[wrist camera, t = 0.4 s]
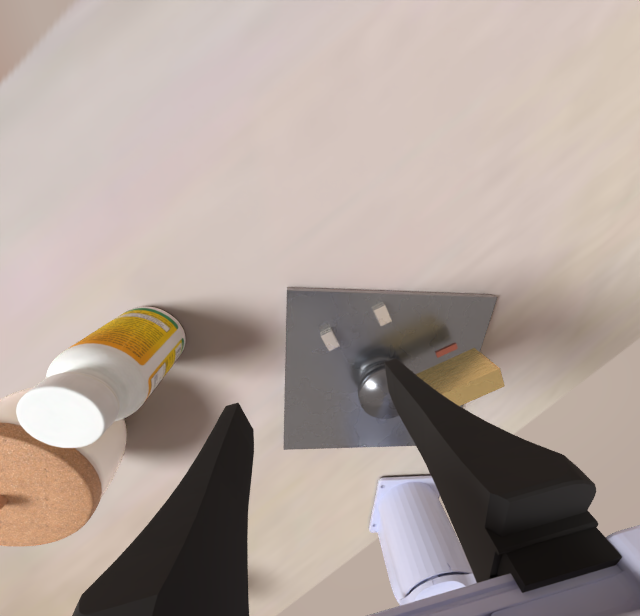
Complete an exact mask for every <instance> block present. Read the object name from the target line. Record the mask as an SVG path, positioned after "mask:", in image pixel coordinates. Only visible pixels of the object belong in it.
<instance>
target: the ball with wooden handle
mask: <svg viewBox="0 0 640 616" xmlns="http://www.w3.org/2000/svg"><path fill="white" fill-rule="evenodd" d="M416 375H417V376H418V377H419V378H421V379H422V380H423V381H424V382H426V383H427V384H428V385H430V386H431V387H432V388H433V389H435V390H436V391H438V392H439V393H440V394H442V395H443V396H445V397H446V398H448V399H449V400H451V401H452V402H454V403H455V404H457V405H458V406H461V405H463V404H465V403H467V402H470V401H472V400H474V399H477V398H479V397H481V396H483V395H486V394H488V393H490V392H493V391H495V390H497V389H499V388H502V387H504V382H503V378H502V374H501V371H500V368H499V367H497V366H496V365H495V364H494V363H493V362H491V361H490V360H489V359H488V358H486V357H485V356H484V355H483V354H481V353H480V352H479V351H478V350H476V349H475V348H472V349H470V350H468V351H466V352H464V353H461V354H459V355H457V356H455V357H453V358H450V359H448V360H446V361H444V362H442V363H439V364H437V365H435V366H433V367H431V368H428V369H426V370H424V371H422V372H420V373H417V374H416ZM358 398H359V401H360V404H361V406H362V408H363V410H364V411H365V412H366V413H367V414H369V415H370V416H372V417H375V418H380V419H389V418H394V417H397V416H399V414H398V412H397V410H396V408H395V406H394V403H393V401H392V399H391V396H390V394H389V391H388V384H387V377H386V371H385V365H383V366H379V367H377V368H375V369H373V370H371V371H370V372H368V373H367V374H366V375H365V376H364V377H363V379H362V380H361V382H360V384H359V387H358Z"/></svg>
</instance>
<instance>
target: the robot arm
mask: <svg viewBox="0 0 640 616" xmlns="http://www.w3.org/2000/svg"><path fill="white" fill-rule="evenodd" d="M384 364H385V371H386V377H387V384H388V391H389V394H390V396H391V399H392V401H393V403H394V406H395V408H396V410H397V412H398V414H399V416H400V418H401V420H402V421H403V423H404V425H405V427H406V429H407V430H408V432H409V434H410V436H411V437H412V439H413V441H414V443H415V445H416V446H417V448H418V450H419V452H420V453H421V455H422V457H423V459H424V461H425V463H426V465H427V467H428V470H429V472H430V474H431V476H409V477H386V478H380V479H379V481H378V486H377V491H376V495H375V500H374V505H373V510H372V515H371V520H370V525H369V530H370V532H372V533H374V532H378V536H379V540H380V544H381V548H382V552H383V556H384V560H385V564H386V568H387V572H388V575H389V580H390V583H391V587H392V590H393V593H394V596H395V598H396V600H397V601H398V603H399V604H400V606H398V607H395V608H391V609H388V610H384V611H381V612H377V613H374V614H370V615H367V616H640V525H638V526H634V527H631V528H627V529H624V530H620V531H618V532H615V533H612V534H611V535H609V536H607V537H606V538H605V537H604V536H603V535H602V533H601V532H600V531H599V530H598V529H597V528H596V527H597V526H598V523H597V521H596V520H595V518H594V517H593V516H592V515H591V514H590V513H589V512H588V511H587V510H588V507H589V506H590V504H591V502H592V500H593V498H594V496H595V493H596V487H595V484H594V483H593V482H592V481H591V480H590V479H589V478H588V477H587V476H586V475H585V474H584V473H583V472H582V471H581V470H580V469H579V468H578V467H577V466H576V465H574V464H573V463H572V462H571V461H570V460H569V459H567V458H566V457H565V456H564V455H562V454H560V453H557V452H555V451H552V450H549V449H547V448H544V447H541V446H539V445H536V444H534V443H531V442H529V441H526V440H524V439H522V438H519V437H517V436H515V435H513V434H510V433H508V432H506V431H504V430H502V429H500V428H498V427H496V426H494V425H492V424H490V423H488V422H486V421H484V420H482V419H481V418H479V417H477V416H475V415H473V414H472V413H470V412H468V411H467V410H465V409H463V408H462V407H460V406H458V405H457V404H455V403H454V402H452V401H451V400H449V399H448V398H446V397H445V396H443V395H442V394H440V393H439V392H438V391H436V390H435V389H433V388H432V387H431V386H430V385H428V384H427V383H426V382H424V381H423V380H422V379H421V378H419V377H418V376H417V375H416V374H414V373H413V372H412V371H411V370H410V369H409V368H407V367H406V366H405V365H404V364H403V363H402V362H401V361H400V360H399V359H397V358H396V359H393V360H389V361H385V362H384ZM253 455H254V436H253V428H252V427H251V425H250V423H249V421H248V419H247V418H246V416H245V414H244V412H243V410H242V409H241V407H240V405H239V403H236V404H232V405H228V406H226V407H225V409H224V410H223V412H222V414H221V416H220V417H219V419H218V421H217V423H216V425H215V427H214V428H213V430H212V432H211V434H210V436H209V437H208V439H207V441H206V442H205V444H204V446H203V448H202V449H201V451H200V453H199V454H198V456H197V458H196V459H195V461H194V462H193V464H192V465H191V467H190V469H189V470H188V472H187V473H186V475H185V476H184V478H183V479H182V481H181V482H180V484H179V485H178V486H177V488H176V489H175V491H174V492H173V493H172V495H171V496H170V497H169V499H168V500H167V501H166V503H165V504H164V505H163V506H162V508H161V509H160V510H159V511H158V513H157V514H156V515H155V516H154V517H153V519H152V520H151V521H150V522H149V524H148V525H147V526H146V527H145V528H144V530H143V531H142V532H141V533H140V534H139V535H138V537H137V538H136V539H135V540H134V541H133V542H132V543H131V544H130V546H129V547H128V548H127V549H126V550H125V551H124V552H123V553H122V554H121V555H120V556H119V557H118V559H117V560H116V561H115V562H114V563H113V564H112V565H111V566H110V567H109V568H108V569H107V570H106V571H105V572H104V573H103V574H102V575H101V576H100V577H99V578H98V579H97V580H96V581H95V582H94V583H93V584H92V585H91V586H90V587H89V588H88V589H87V590H86V591H85V592H84V593H83V594H82V596H81V598H80V600H79V602H78V604H77V606H76V608H75V611H74V613H73V615H72V616H249V604H248V569H247V529H248V504H249V494H250V485H251V475H252V465H253ZM439 496H441V499H442V501H443V503H444V505H445V508H446V510H447V512H448V515H449V517H450V519H451V522H452V524H453V526H454V529H455V531H456V533H457V536H458V538H459V540H458V538H457V536H456V534H455V532H454V530H453V528H452V526H451V524H450V521H449V519H448V517H447V515H446V513H445V511H444V509H443V507H442V505H441V503H440V501H439ZM459 541H460V542H459ZM460 543H461V544H460ZM461 545H462V546H461Z"/></svg>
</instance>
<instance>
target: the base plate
mask: <svg viewBox="0 0 640 616" xmlns="http://www.w3.org/2000/svg"><path fill="white" fill-rule="evenodd" d="M496 300H497V297H495V296H493V295H491V294H465V293H437V292H409V291H380V290H352V289H323V288H295V287H287V318H286V365H285V411H284V450H285V449H319V448H353V447H386V446H416V445H415V443H414V441H413V439H412V437H411V436H410V434H409V432H408V430H407V429H406V427H405V425H404V423H403V421H402V420H401V418H400V416H397V417H394V418H389V419H380V418H375V417H372V416H370V415H369V414H367V413H366V412H365V411H364V410H363V408H362V406H361V404H360V401H359V398H358V387H359V384H360V382H361V380H362V379H363V377H364V376H365V375H366V374H367V373H368V372H370V371H371V370H373V369H375V368H377V367H379V366H383V365H385V364H384V362H385V361H389V360H393V359H396V358H397V359H399V360H400V361H401V362H402V363H403V364H404V365H405V366H406V367H407V368H409V369H410V370H411V371H412V372H413V373H414V374H417V373H420V372H422V371H424V370H426V369H428V368H431V367H433V366H435V365H437V364H439V363H442V362H444V361H446V360H448V359H450V358H453V357H455V356H457V355H459V354H461V353H464V352H466V351H468V350H470V349H472V348H475V349H476V350H478V351H479V352H480V350H481V346H482V343H483V340H484V337H485V334H486V331H487V328H488V325H489V321H490V318H491V315H492V312H493V309H494V306H495V303H496ZM462 406H463V405H461V406H460V407H462Z"/></svg>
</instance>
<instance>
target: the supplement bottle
mask: <svg viewBox="0 0 640 616" xmlns="http://www.w3.org/2000/svg"><path fill="white" fill-rule="evenodd" d="M185 342H186V339H185V333H184V330H183V328H182V326H181V324H180V323H179V322H178V321H177V319H175V318H174V317H173V316H172V315H170V314H169V313H167V312H165V311H163V310H161V309H158V308H155V307H137V308H133V309H130V310H128V311H127V312H125V313H123V314H122V315H120V316H119V317H117V318H115V319H114V320H112V321H110V322H109V323H107V324H106V325H104V326H103V327H101V328H100V329H98V330H96V331H95V332H93V333H92V334H90V335H89V336H87V337H86V338H84V339H82V340H81V341H79V342H78V343H76V344H75V345H73V346H71V347H70V348H68V349H67V350H65V351H64V352H62V353H61V354H60V355H58V356H57V357H56V358H55V359H54V361H53V362H52V363H51V365H50V367H49V369H48V371H47V375H46V378H45V379H44V380H42V381H41V382H40V383H39V384H37V385H36V386H35V387H33V388H32V389H31V390H29V391H28V392H27V393H26V394H24V395H23V396H22V398H21V399H20V400H19V402H18V404H17V408H16V414H17V418H18V421H19V423H20V425H21V426H22V427H23V429H24V430H25V431H26V432H27V433H29V434H30V435H31V436H32V437H34V438H35V439H37V440H39V441H41V442H44V443H46V444H48V445H51V446H56V447H61V448H78V447H83V446H87V445H89V444H92V443H93V442H95V441H96V440H98V439H99V438H100V437H101V436H102V435H103V434H104V432H105V431H106V430H107V429H108V428H109V427H110V426H111V425H112V424H113V423H114V421H118V420H121V419H124V418H126V417H128V416H130V415H131V414H133V413H134V412H136V411H137V410H138V409H139V408H140V407H141V406H142V405H143V403H144V402H145V401H146V400H147V398H148V397H149V396H150V395H151V393H152V392H153V391H154V389H155V388H156V387H157V385H158V384H159V383H160V381H161V380H162V379H163V377H164V376H165V375H166V373H167V372H168V371H169V369H170V368H171V367H172V366H173V364H174V363H175V362H176V360H177V359H178V358H179V356H180V355H181V353H182V352H183V349H184V347H185Z"/></svg>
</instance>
